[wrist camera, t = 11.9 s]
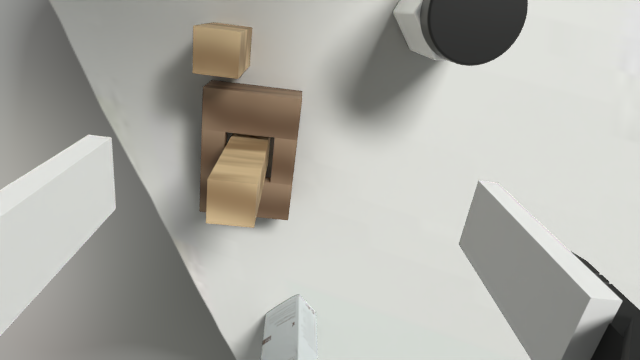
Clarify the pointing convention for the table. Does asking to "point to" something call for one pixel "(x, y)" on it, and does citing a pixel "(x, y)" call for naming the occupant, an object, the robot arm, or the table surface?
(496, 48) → the jar
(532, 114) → the table surface
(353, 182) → the table surface
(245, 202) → the peg long
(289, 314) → the skincare box
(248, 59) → the peg mid
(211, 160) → the bridge
